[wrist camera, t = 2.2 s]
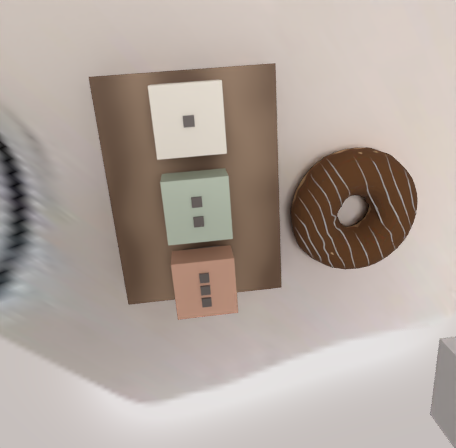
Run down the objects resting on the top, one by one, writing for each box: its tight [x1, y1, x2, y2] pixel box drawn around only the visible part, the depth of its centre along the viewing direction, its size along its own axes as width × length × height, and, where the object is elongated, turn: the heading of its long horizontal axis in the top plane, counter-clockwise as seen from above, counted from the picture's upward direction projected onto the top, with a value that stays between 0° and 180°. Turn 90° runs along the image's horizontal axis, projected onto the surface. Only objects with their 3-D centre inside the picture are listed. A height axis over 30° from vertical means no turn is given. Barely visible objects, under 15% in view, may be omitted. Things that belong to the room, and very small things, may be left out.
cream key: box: [148, 80, 227, 160], centre depth 27 cm, size 4×4×3 cm
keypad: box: [89, 63, 281, 304], centre depth 33 cm, size 13×18×4 cm
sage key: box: [160, 168, 233, 245], centre depth 29 cm, size 4×4×3 cm
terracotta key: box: [171, 245, 238, 320], centre depth 31 cm, size 4×4×3 cm
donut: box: [291, 147, 417, 269], centre depth 35 cm, size 11×11×4 cm
